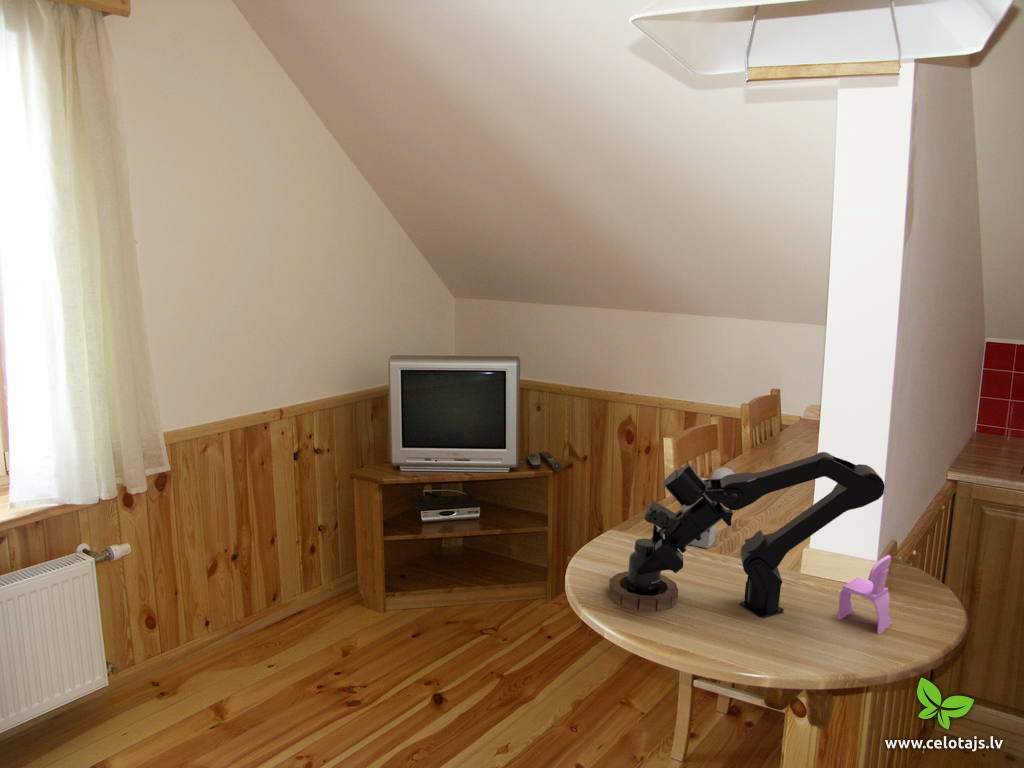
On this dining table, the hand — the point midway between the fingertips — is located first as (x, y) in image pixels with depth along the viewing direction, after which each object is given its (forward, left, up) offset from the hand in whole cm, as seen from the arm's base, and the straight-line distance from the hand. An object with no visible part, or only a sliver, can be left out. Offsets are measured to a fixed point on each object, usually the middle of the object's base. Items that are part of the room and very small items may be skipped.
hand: (638, 565), depth 173 cm
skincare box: (+18, -32, -7) cm, 37 cm away
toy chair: (-29, -35, -7) cm, 46 cm away
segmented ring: (-1, -1, -7) cm, 7 cm away
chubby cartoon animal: (+41, -64, -7) cm, 76 cm away
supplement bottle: (-1, -1, -7) cm, 7 cm away
